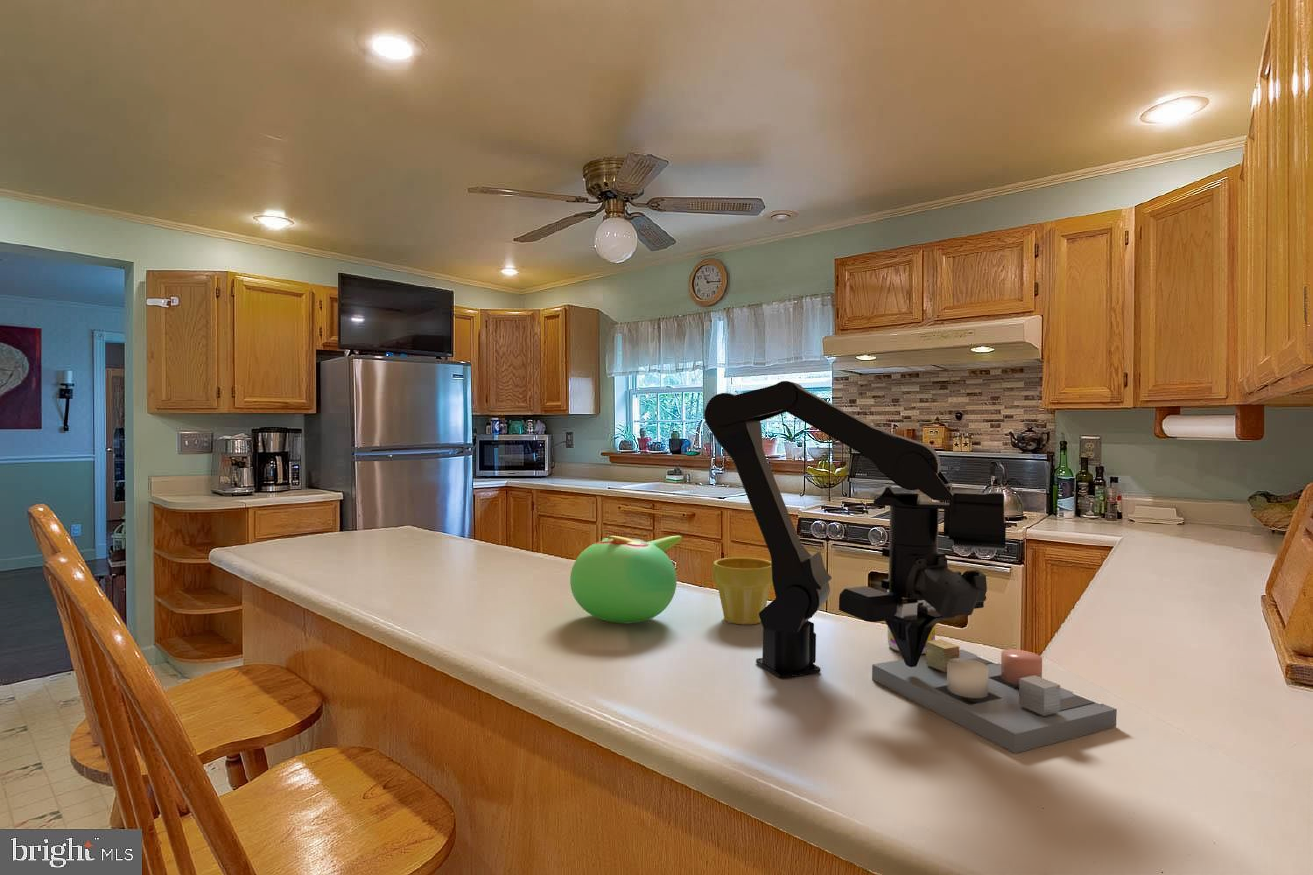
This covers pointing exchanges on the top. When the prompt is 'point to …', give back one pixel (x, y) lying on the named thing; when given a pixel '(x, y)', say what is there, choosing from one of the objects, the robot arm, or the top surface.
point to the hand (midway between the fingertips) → (911, 666)
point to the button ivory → (967, 678)
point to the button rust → (1019, 665)
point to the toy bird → (625, 578)
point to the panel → (996, 706)
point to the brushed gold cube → (940, 653)
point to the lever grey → (1039, 695)
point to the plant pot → (743, 587)
